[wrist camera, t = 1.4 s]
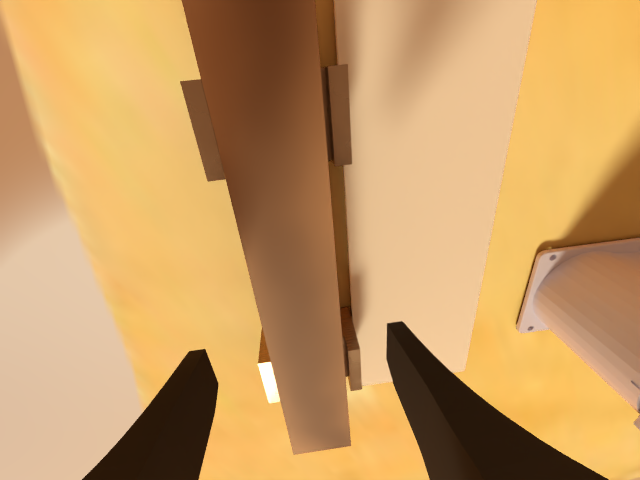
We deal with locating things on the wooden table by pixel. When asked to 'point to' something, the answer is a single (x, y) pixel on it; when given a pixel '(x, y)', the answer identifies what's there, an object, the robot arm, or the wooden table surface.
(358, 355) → the post
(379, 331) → the felt pad
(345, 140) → the post
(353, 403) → the wooden table surface
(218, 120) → the rail
